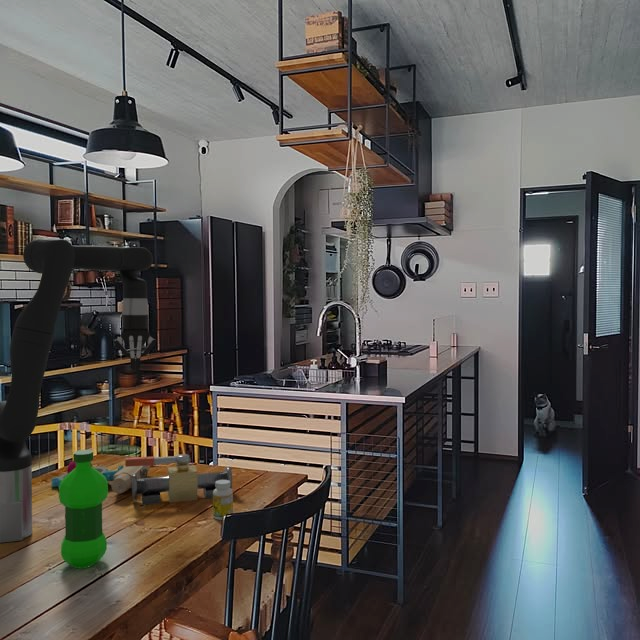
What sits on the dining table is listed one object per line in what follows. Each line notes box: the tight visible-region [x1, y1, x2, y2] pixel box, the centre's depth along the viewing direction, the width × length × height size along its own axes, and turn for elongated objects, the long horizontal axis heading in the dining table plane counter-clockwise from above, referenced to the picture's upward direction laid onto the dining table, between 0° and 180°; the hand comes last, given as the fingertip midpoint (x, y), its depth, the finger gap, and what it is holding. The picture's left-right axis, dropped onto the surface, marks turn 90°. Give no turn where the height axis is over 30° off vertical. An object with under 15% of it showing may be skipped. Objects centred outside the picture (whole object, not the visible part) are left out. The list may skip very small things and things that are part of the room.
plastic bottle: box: [58, 449, 109, 569], centre depth 136 cm, size 10×10×25 cm
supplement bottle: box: [212, 480, 234, 521], centre depth 165 cm, size 5×5×10 cm
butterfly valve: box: [50, 465, 152, 494], centre depth 192 cm, size 27×7×30 cm
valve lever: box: [124, 453, 190, 467], centre depth 179 cm, size 18×4×2 cm, turn 103°
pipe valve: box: [131, 462, 233, 505], centre depth 181 cm, size 28×7×10 cm, turn 108°
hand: (135, 370), depth 186 cm, fingers closed
